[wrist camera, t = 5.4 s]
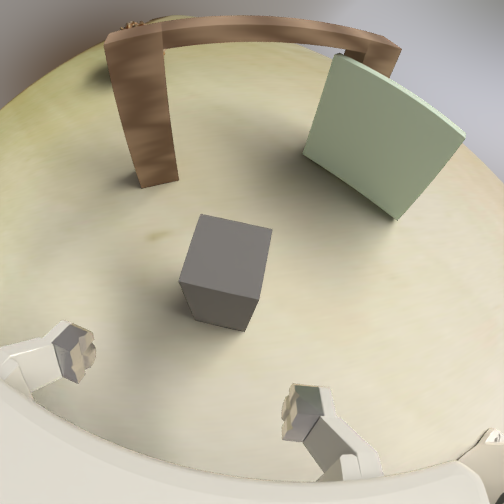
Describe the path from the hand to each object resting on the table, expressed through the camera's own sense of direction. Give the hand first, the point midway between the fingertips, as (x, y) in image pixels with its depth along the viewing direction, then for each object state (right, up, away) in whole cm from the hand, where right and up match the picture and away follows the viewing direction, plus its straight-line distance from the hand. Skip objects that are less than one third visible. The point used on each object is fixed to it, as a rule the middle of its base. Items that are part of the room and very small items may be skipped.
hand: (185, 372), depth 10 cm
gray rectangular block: (0, +1, +12) cm, 12 cm away
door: (+14, +13, +19) cm, 27 cm away
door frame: (+3, +15, +20) cm, 25 cm away
